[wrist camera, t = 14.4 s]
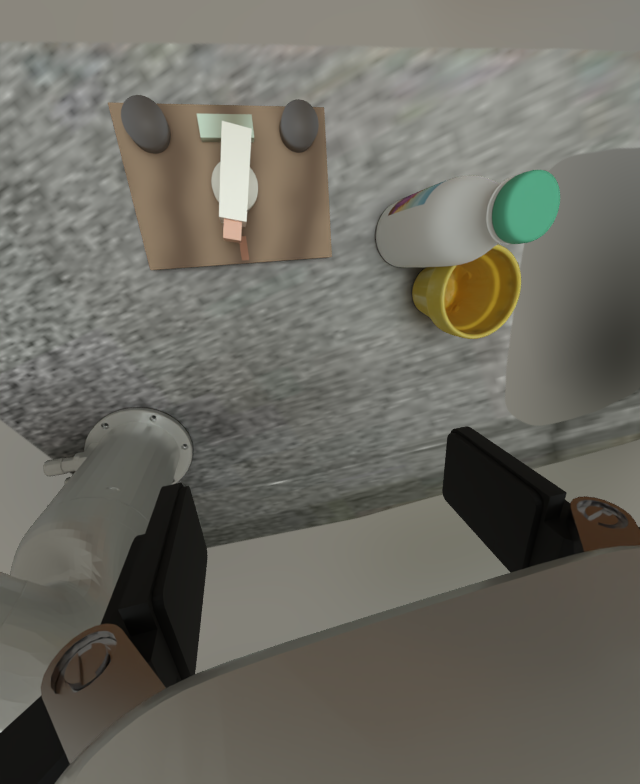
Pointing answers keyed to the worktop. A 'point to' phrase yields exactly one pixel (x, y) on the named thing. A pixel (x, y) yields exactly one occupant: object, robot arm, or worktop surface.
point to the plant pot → (470, 294)
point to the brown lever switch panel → (194, 187)
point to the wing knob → (234, 180)
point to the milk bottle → (467, 219)
